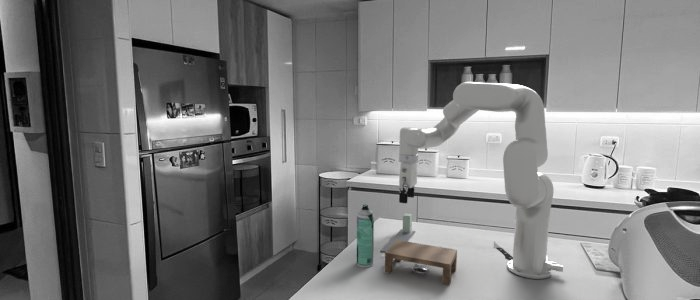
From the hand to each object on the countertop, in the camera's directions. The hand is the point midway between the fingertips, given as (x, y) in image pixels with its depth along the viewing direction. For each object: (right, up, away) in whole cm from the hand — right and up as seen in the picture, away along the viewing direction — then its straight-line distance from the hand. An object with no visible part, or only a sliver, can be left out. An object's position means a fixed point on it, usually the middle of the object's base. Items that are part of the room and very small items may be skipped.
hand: (406, 199), depth 152 cm
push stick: (-4, -15, -8) cm, 18 cm away
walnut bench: (-1, -18, -33) cm, 38 cm away
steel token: (-1, -18, -33) cm, 38 cm away
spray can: (-18, -18, -28) cm, 38 cm away
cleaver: (+29, -16, -11) cm, 35 cm away
